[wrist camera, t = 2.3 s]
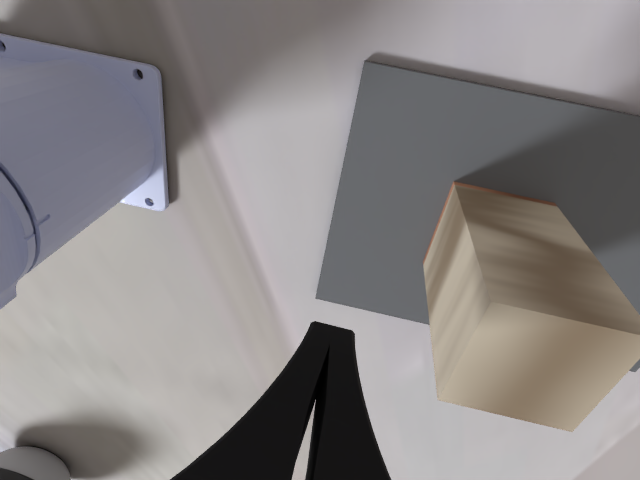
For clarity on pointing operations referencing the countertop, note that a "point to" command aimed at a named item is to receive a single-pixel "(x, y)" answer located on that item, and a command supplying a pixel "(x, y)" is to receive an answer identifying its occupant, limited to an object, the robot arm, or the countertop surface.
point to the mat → (471, 180)
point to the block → (523, 311)
